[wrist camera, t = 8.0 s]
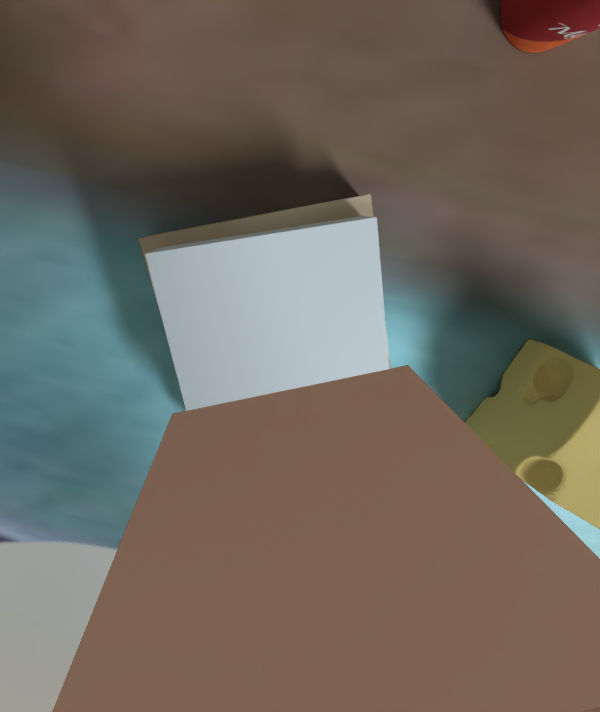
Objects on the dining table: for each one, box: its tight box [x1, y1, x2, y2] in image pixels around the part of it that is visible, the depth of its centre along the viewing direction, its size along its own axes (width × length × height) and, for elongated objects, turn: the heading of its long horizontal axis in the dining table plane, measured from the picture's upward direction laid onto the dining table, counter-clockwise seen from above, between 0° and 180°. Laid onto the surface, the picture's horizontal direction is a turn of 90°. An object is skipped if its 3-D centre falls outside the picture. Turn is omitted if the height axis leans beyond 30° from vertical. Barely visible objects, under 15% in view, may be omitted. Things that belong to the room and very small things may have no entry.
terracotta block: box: [52, 365, 600, 712], centre depth 9 cm, size 7×7×9 cm
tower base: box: [138, 194, 391, 369], centre depth 34 cm, size 16×16×4 cm
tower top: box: [145, 216, 389, 411], centre depth 30 cm, size 14×14×4 cm
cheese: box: [465, 339, 600, 529], centre depth 36 cm, size 10×11×10 cm
